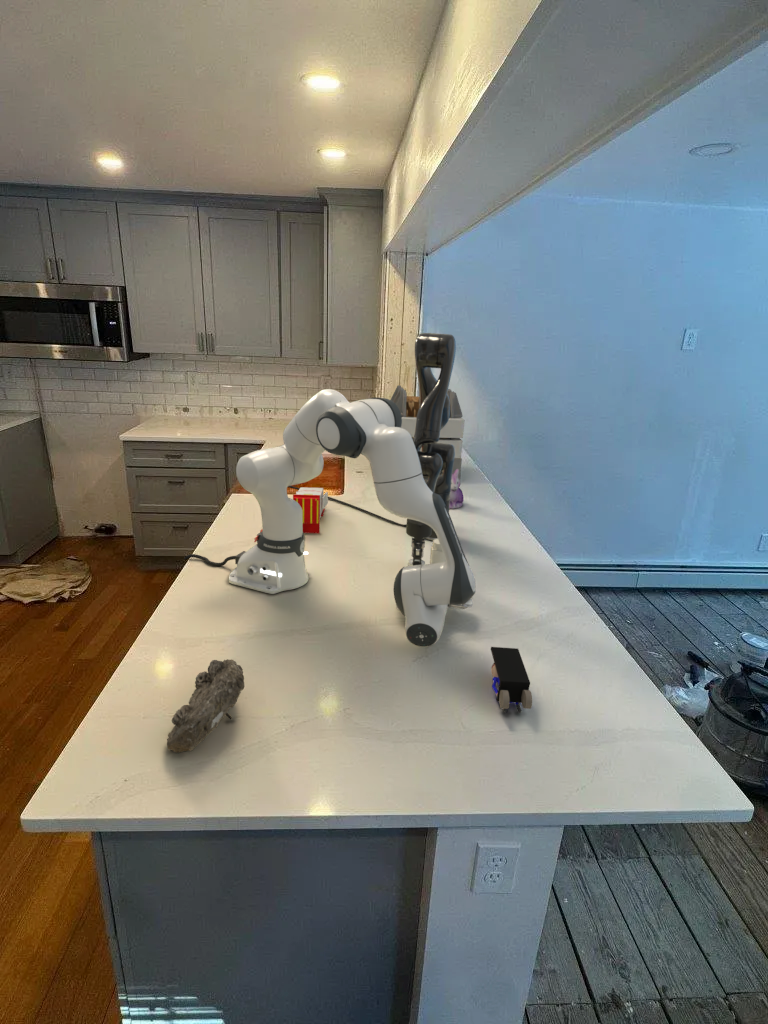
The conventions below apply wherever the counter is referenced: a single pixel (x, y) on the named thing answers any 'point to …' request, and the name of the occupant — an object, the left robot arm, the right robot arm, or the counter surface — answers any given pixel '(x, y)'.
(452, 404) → the transformer
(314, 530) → the toy
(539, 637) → the counter surface
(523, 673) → the figurine character
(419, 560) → the lid
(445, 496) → the right robot arm
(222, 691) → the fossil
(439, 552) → the beige canister
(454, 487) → the figurine
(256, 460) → the left robot arm
